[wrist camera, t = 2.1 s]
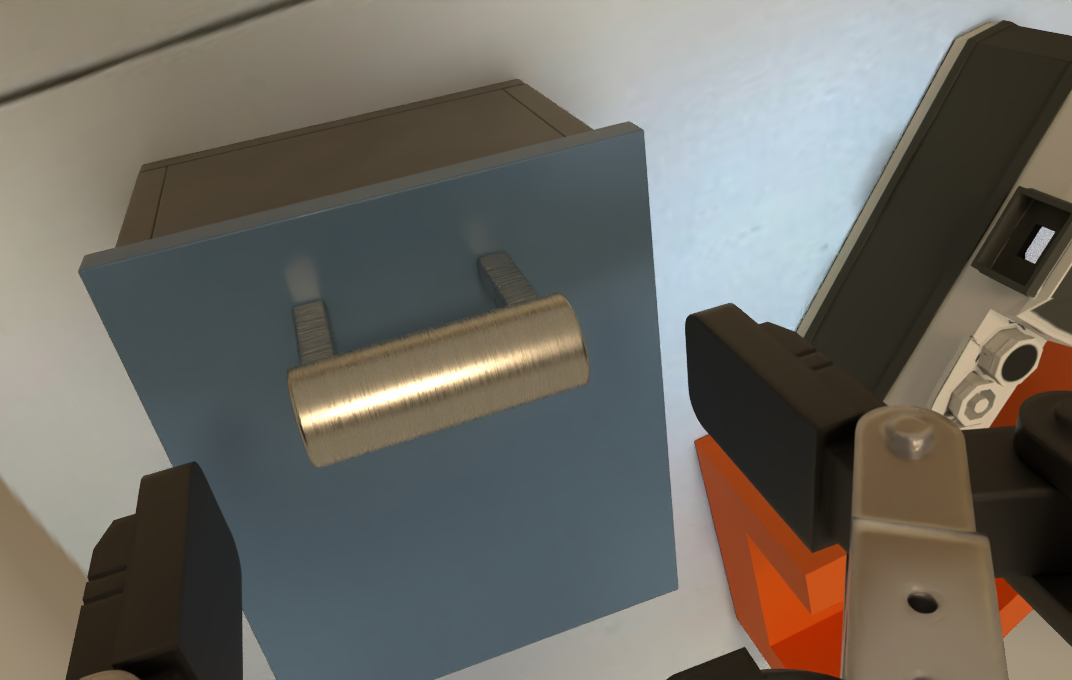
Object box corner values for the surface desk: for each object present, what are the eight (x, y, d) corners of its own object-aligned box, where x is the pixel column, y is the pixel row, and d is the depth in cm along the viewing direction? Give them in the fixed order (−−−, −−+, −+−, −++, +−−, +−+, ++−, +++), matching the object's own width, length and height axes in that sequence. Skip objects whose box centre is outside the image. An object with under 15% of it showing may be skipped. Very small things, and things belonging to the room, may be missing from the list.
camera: (895, 407, 39) (1076, 550, 31) (756, 375, 35) (918, 528, 27) (1097, 79, 33) (1384, 144, 25) (957, -1, 30) (1240, 46, 21)
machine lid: (83, 255, 16) (26, 399, 12) (629, 120, 18) (758, 197, 14) (298, 706, 24) (314, 900, 19) (667, 571, 26) (759, 716, 21)
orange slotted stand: (737, 618, 43) (834, 760, 36) (694, 441, 36) (805, 574, 29) (1028, 473, 45) (1174, 581, 38) (1041, 279, 38) (1222, 368, 31)
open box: (140, 164, 24) (100, 289, 17) (518, 77, 26) (631, 154, 19) (282, 510, 31) (298, 704, 24) (570, 418, 33) (666, 570, 26)
